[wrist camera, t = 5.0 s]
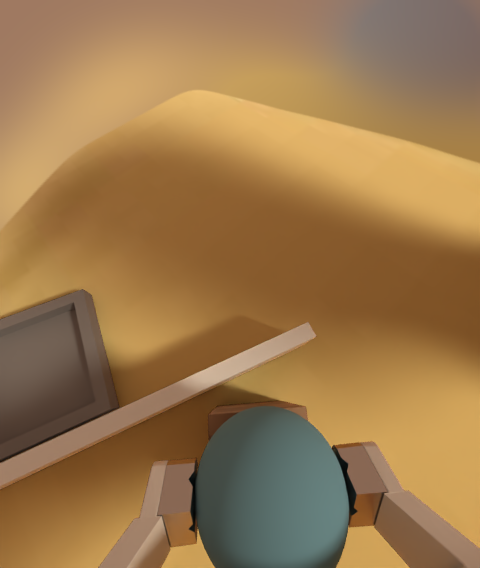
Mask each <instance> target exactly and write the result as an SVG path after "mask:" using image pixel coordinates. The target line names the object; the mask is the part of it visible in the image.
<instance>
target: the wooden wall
mask: <svg viewBox="0 0 480 568" xmlns="http://www.w3.org/2000/svg"><path fill="white" fill-rule="evenodd" d="M315 337H316V335H315V333H314V331H313V329H312V328H311V326H310V324H309V322H307V323H305V324H302V325H300V326H298V327H296V328H294V329H292V330H289V331H287V332H285V333H283V334H281V335H278V336H276V337H274V338H272V339H270V340H268V341H265V342H263V343H261V344H259V345H257V346H254V347H252V348H250V349H248V350H246V351H244V352H241V353H239V354H237V355H235V356H233V357H231V358H228V359H226V360H224V361H222V362H220V363H217V364H215V365H213V366H211V367H209V368H207V369H204V370H202V371H200V372H198V373H196V374H193V375H191V376H189V377H187V378H185V379H183V380H180V381H178V382H176V383H174V384H172V385H170V386H167V387H165V388H163V389H161V390H159V391H156V392H154V393H152V394H150V395H148V396H146V397H143V398H141V399H139V400H137V401H135V402H132V403H130V404H128V405H126V406H124V407H122V408H119V409H117V410H115V411H113V412H111V413H109V414H106V415H104V416H102V417H100V418H98V419H95V420H93V421H91V422H89V423H87V424H85V425H82V426H80V427H78V428H76V429H74V430H71V431H69V432H67V433H65V434H63V435H61V436H58V437H56V438H54V439H52V440H50V441H48V442H45V443H43V444H41V445H39V446H37V447H34V448H32V449H30V450H28V451H26V452H24V453H21V454H19V455H17V456H15V457H13V458H10V459H8V460H6V461H4V462H2V463H0V489H2V488H4V487H7V486H9V485H11V484H13V483H15V482H17V481H19V480H21V479H23V478H25V477H28V476H30V475H32V474H34V473H36V472H38V471H40V470H42V469H44V468H46V467H49V466H51V465H53V464H55V463H57V462H59V461H61V460H63V459H65V458H68V457H70V456H72V455H74V454H76V453H78V452H80V451H82V450H84V449H86V448H89V447H91V446H93V445H95V444H97V443H99V442H101V441H103V440H105V439H107V438H110V437H112V436H114V435H116V434H118V433H120V432H122V431H124V430H126V429H128V428H131V427H133V426H135V425H137V424H139V423H141V422H143V421H145V420H147V419H149V418H152V417H154V416H156V415H158V414H160V413H162V412H164V411H166V410H168V409H171V408H173V407H175V406H177V405H179V404H181V403H183V402H185V401H187V400H189V399H192V398H194V397H196V396H198V395H200V394H202V393H204V392H206V391H208V390H210V389H213V388H215V387H217V386H219V385H221V384H223V383H225V382H227V381H229V380H231V379H234V378H236V377H238V376H240V375H242V374H244V373H246V372H248V371H250V370H252V369H255V368H257V367H259V366H261V365H263V364H265V363H267V362H269V361H271V360H274V359H276V358H278V357H280V356H282V355H284V354H286V353H288V352H290V351H292V350H295V349H297V348H299V347H301V346H302V345H304V344H305V343H307V342H308V341H310V340H312V339H313V338H315Z"/></svg>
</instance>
